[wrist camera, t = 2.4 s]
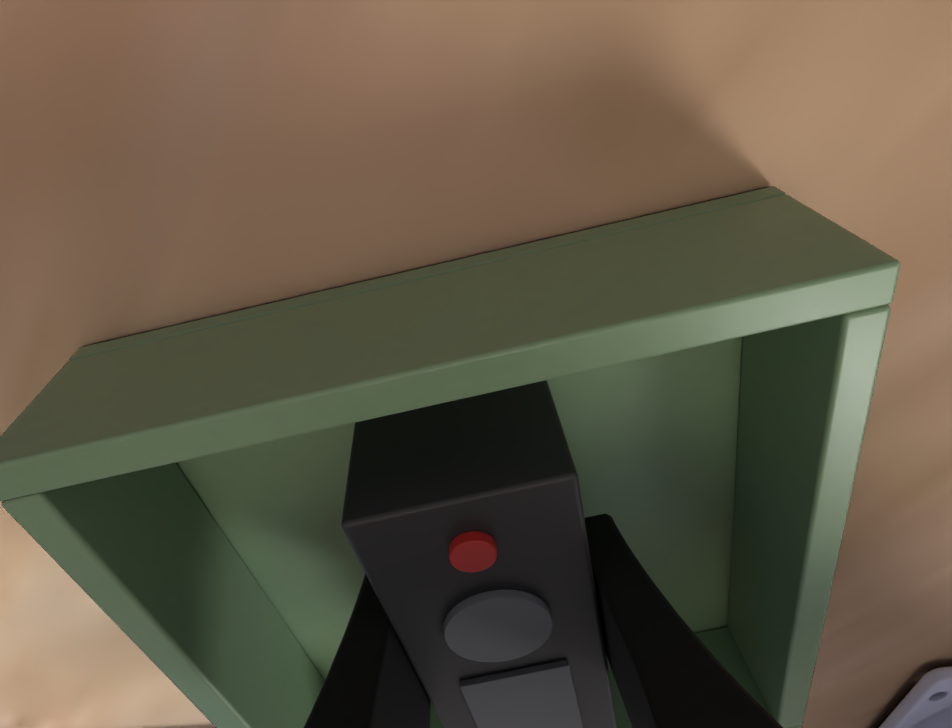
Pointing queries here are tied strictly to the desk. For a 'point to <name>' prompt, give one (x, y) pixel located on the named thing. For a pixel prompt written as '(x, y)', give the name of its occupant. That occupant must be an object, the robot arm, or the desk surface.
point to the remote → (483, 559)
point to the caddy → (462, 376)
